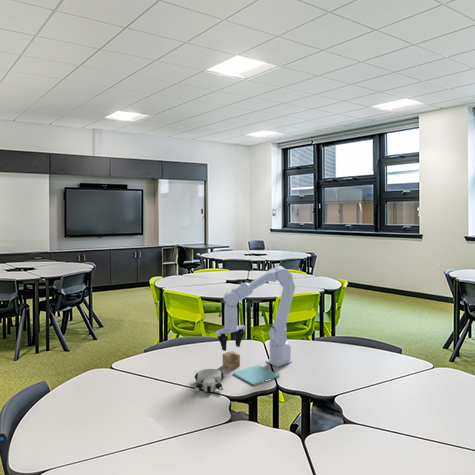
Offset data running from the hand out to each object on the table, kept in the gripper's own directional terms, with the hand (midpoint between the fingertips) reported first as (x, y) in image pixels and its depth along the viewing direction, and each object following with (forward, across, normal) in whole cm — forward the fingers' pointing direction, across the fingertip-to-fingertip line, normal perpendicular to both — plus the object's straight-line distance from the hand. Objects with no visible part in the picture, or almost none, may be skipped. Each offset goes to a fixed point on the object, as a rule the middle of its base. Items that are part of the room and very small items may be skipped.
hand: (231, 348), depth 187 cm
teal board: (+8, -2, +15) cm, 17 cm away
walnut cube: (+8, 0, 0) cm, 8 cm away
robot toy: (+9, +19, +11) cm, 23 cm away
